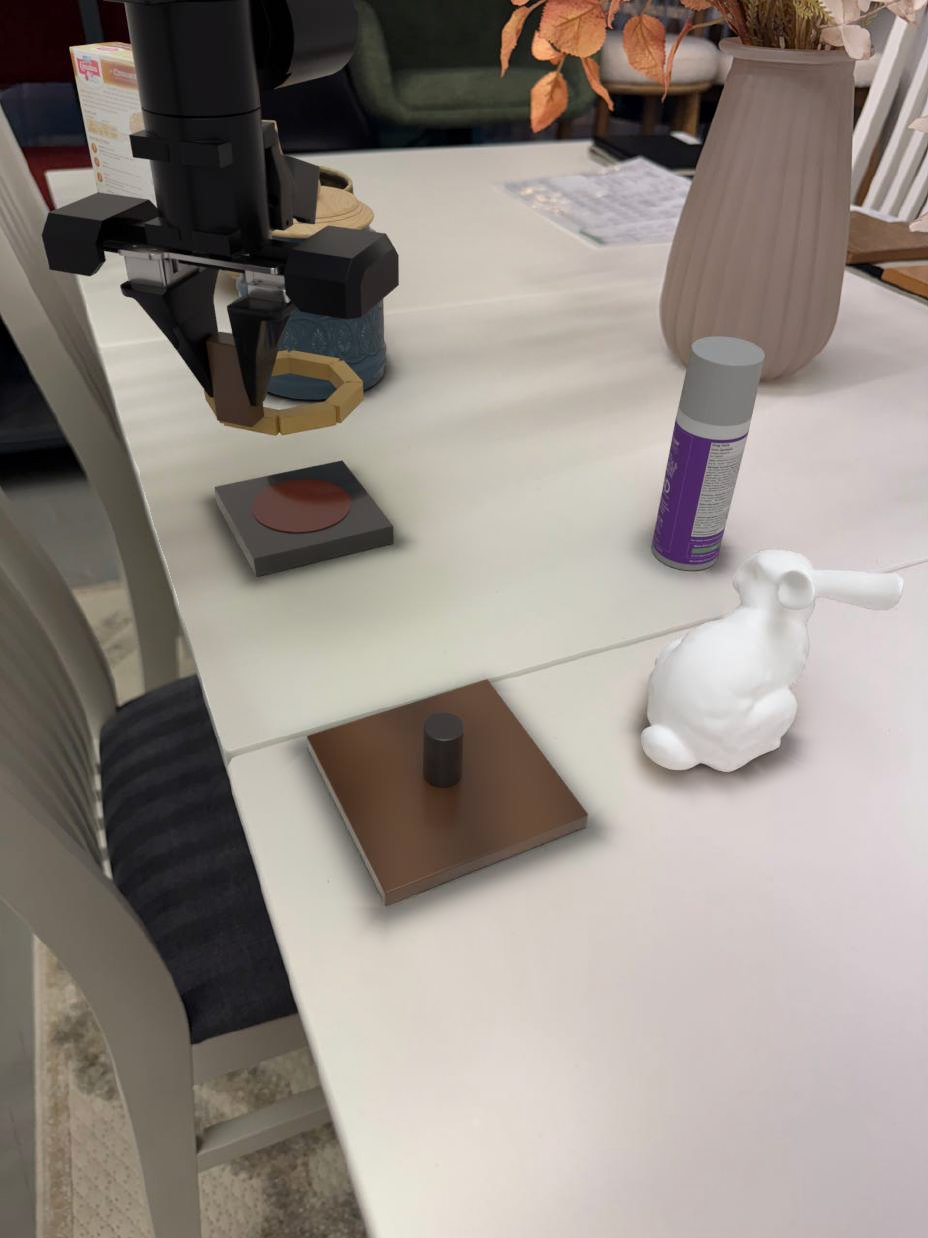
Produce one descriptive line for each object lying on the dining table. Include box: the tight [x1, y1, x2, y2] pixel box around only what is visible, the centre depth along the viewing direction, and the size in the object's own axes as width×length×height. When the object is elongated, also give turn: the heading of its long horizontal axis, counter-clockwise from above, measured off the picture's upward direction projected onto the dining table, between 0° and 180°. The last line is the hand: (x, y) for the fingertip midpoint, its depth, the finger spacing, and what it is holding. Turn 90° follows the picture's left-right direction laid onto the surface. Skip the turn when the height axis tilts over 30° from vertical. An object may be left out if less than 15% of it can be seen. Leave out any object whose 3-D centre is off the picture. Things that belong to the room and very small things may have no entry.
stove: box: [213, 459, 395, 578], centre depth 68 cm, size 10×10×2 cm
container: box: [651, 335, 766, 572], centre depth 63 cm, size 5×5×15 cm
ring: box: [203, 331, 364, 437], centre depth 60 cm, size 10×11×6 cm
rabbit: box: [640, 549, 905, 773], centre depth 49 cm, size 12×9×12 cm
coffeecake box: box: [69, 41, 157, 207], centre depth 113 cm, size 15×7×20 cm, turn 51°
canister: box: [235, 180, 387, 401], centre depth 83 cm, size 13×13×18 cm
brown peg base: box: [306, 678, 589, 906], centre depth 48 cm, size 11×11×4 cm
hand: (237, 399), depth 56 cm, fingers closed on ring, 2 cm apart
